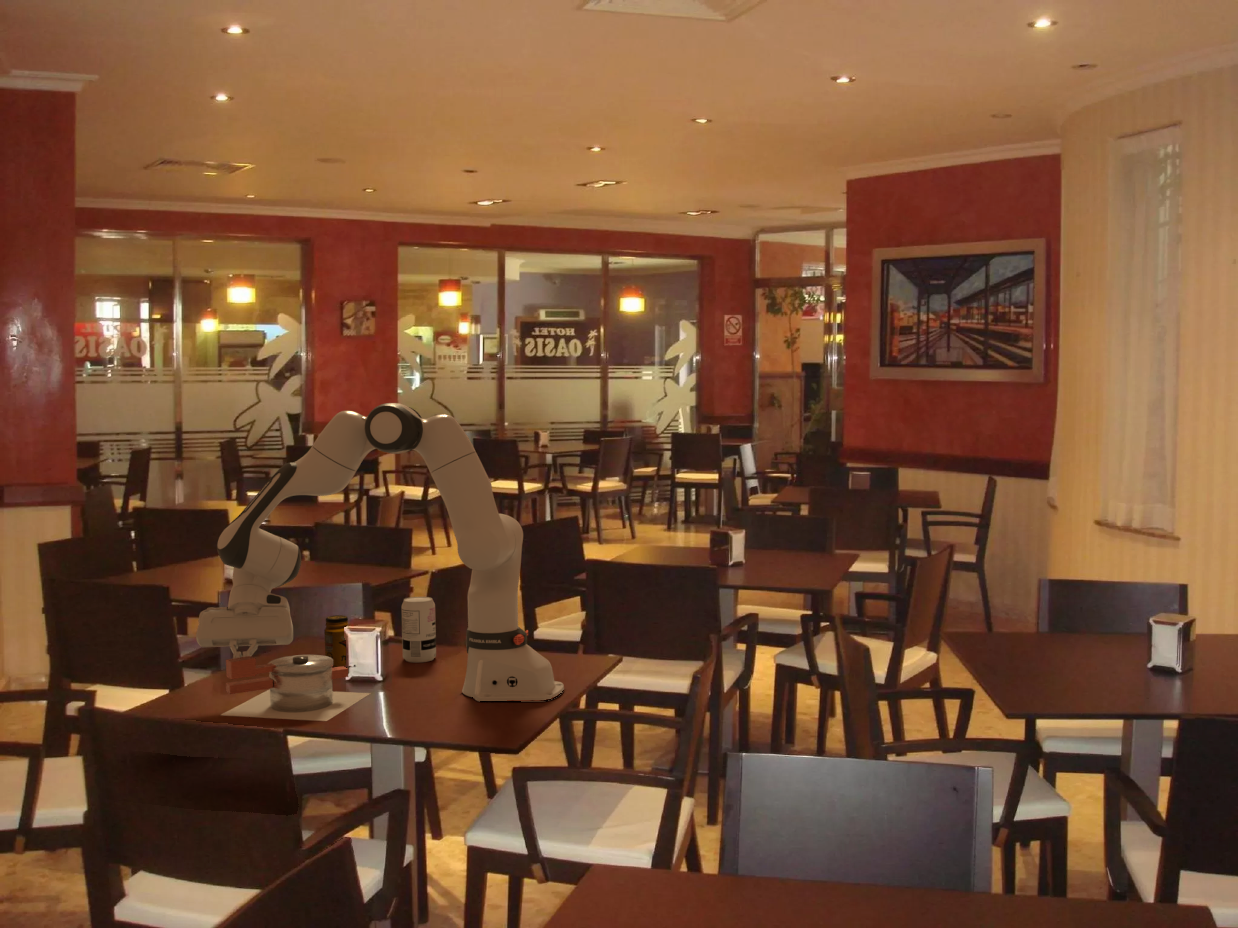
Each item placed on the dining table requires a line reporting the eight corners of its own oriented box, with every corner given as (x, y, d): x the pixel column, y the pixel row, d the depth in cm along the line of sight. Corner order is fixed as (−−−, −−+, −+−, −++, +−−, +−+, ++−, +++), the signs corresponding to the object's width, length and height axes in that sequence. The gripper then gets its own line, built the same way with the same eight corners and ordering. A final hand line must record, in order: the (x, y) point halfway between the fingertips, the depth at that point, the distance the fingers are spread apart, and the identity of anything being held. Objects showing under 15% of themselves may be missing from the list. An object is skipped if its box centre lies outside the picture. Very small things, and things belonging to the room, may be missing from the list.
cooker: (352, 696, 280) (351, 660, 279) (311, 721, 260) (310, 682, 260) (269, 691, 284) (267, 656, 284) (222, 716, 265) (220, 678, 264)
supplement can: (400, 656, 318) (399, 597, 317) (433, 654, 321) (432, 595, 320) (405, 664, 311) (403, 603, 309) (438, 661, 313) (437, 601, 312)
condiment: (356, 666, 309) (355, 617, 308) (323, 671, 305) (321, 621, 304) (345, 660, 315) (344, 612, 314) (312, 665, 311) (310, 616, 310)
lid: (317, 656, 283) (316, 639, 282) (343, 667, 272) (343, 650, 272) (217, 671, 269) (216, 654, 269) (241, 684, 258) (240, 666, 258)
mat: (370, 694, 282) (370, 693, 282) (326, 722, 261) (326, 720, 261) (271, 689, 287) (271, 688, 287) (220, 716, 266) (220, 714, 266)
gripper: (197, 599, 278) (188, 654, 270) (293, 597, 280) (287, 651, 271) (203, 616, 283) (194, 670, 274) (297, 613, 285) (291, 666, 276)
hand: (241, 660), depth 273 cm, fingers closed
